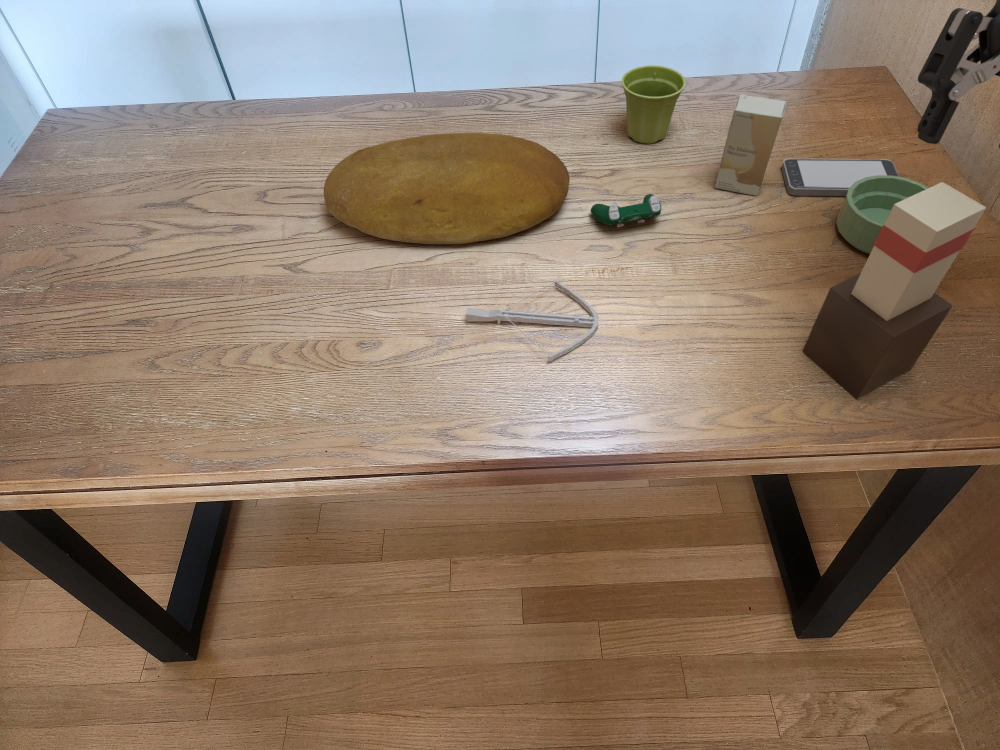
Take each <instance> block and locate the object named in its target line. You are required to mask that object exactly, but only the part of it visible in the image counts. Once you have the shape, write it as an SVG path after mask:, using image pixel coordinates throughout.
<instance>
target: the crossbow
mask: <svg viewBox="0 0 1000 750" xmlns="http://www.w3.org/2000/svg"><path fill="white" fill-rule="evenodd" d="M553 284H554V286H555V288H556V289H559V290H560V291H562V292H563V293H565V294H566V295H568V296H569V297H570V298H572V299H573V300H574V301H575V302H577V303H578V304H579V305H580V306H582V308H583V309H585V311H587V312H588V314H589V315H590V316H587V315H580V314H579V313H574V315H573V314H562V313H561V314H560V313H550V312H549V313H548V312H539V311H537V312H536V311H525V310H517V309H514V310H512V309H511V310H510V308H512V307H514V306H516V305H518V304H520V303H521V302H523V301H525V300H526V299H528V298H530V297H532V296H534V295H535V294H537V293H539V292H541V291H542V290H544V289H546V288H548V287H549V286H551V285H553ZM494 321H497V325H498V326H499V325H500V324H501V321H503V322H510V324H512V325H513V326H514V327H515V328H516V329H518V331H520V332H521V333H522V334H523V335H525V337H527V338H528V339H529V341H531V342H532V343H533V344H534V345H536V346H537V347H538V348H539V349H540V350H541V351H542V352H543V353H545V355H547V361H548V362H553V361H554V360H556V359H557V358H560V357H562V356H564V355H566V354H568V353H569V352H571V351H573V350H575V349H576V348H578V347H580V346H581V345H582V344H584V343H585V342H586V341H588V340H589V339H590V338H592V337H593V336H594V334H595V332H597V330H598V329H599V315H598V313H597V312H596V311H595V309H594V308H593V307H592V306H591V305H590V304H589V303H588V302H587V301H586V300H585V299H584V298H582V297H581V296H580V295H578V293H576V292H575V291H573V290H572V289H571V288H569V287H568V286H566V285H564V284H563V283H561V282H560V280H554V281H553V282H551V283H550V284H548V285H546V286H544V287H542V288H540V289H539V290H537V291H535V292H533V293H532V294H530V295H528V296H527V297H525V298H523V299H521V300H520V301H518V302H516V303H514V304H512V305H510V306H509V307H507V308H505V309H500V308H498V309H493V310H487V309H486V310H485V309H480V308H474V307H473V308H472V307H466V310H465V322H494ZM514 322H517V323H528V324H529V323H530V324H540V325H541V324H542V325H555V326H567V327H579V328H590V329H589V330H588V331H587V332H586V333H584V335H582V336H581V337H580V338H578V339H577V340H575V341H573V342H572V343H570V344H569V345H567V346H566V347H564V348H561V349H560V350H557V351H555V352H553V353H551V354H549V353H547V351H545V350H544V349H543V347H541V346H540V345H539V344H537V342H535V341H534V340H533V339H532V338H530V336H528V334H526V333H525V332H524V331H523V330H522V329H521V328H519V327H518V325H516V324H515V323H514Z"/></svg>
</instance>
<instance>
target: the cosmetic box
mask: <svg viewBox="0 0 1000 750" xmlns="http://www.w3.org/2000/svg"><path fill="white" fill-rule="evenodd" d="M787 104H788V102H787V101H786V100H781V99H773V98H769V97H765V96H754V95H748V94H742V93H739V95H738V96H737V99H736V103H735V106H734V109H733V113H732V117H731V121H730V124H729V128H728V133H727V137H726V139H725V144H724V147H723V152H722V154H721V155H722V156H721V160H720V164H719V167H718V172H717V175H716V179H715V183H714V188H715V189H718V190H724V191H729V192H734V193H739V194H745V195H749V196H755V197H757V196H758V195H759V193H760V190H761V186H762V183H763V181H764V177H765V174H766V170H767V167H768V165H769V161H770V159H771V155H772V151H773V149H774V146H775V143H776V140H777V136H778V133H779V130H780V126H781V125H782V124H781V123H782V120H783V117H784V114H785V110H786V107H787Z"/></svg>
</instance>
